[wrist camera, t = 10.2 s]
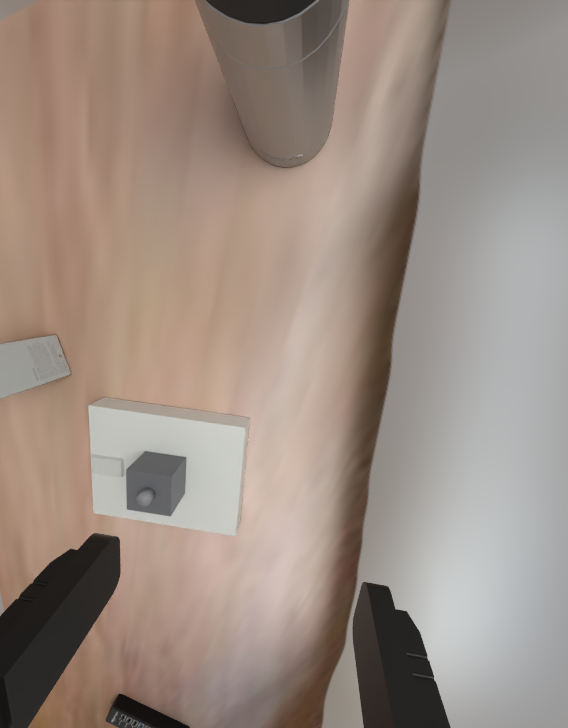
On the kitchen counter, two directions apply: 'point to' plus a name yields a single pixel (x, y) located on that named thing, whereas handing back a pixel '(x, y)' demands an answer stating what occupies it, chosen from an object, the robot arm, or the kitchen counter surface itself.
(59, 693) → the kitchen counter surface
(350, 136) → the kitchen counter surface
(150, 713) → the multiport hub
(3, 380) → the small box
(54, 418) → the kitchen counter surface
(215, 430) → the socket plate
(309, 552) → the kitchen counter surface
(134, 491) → the plug
